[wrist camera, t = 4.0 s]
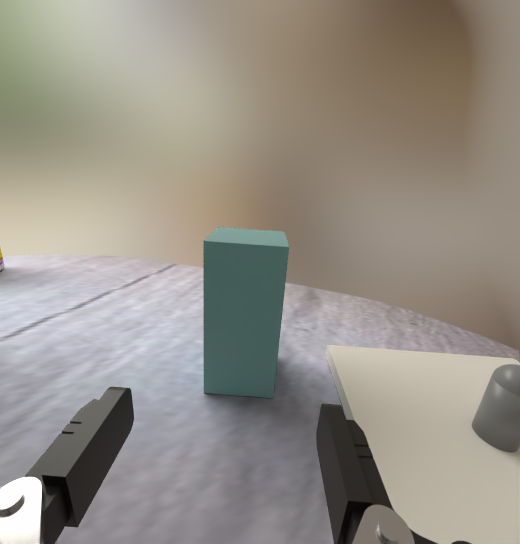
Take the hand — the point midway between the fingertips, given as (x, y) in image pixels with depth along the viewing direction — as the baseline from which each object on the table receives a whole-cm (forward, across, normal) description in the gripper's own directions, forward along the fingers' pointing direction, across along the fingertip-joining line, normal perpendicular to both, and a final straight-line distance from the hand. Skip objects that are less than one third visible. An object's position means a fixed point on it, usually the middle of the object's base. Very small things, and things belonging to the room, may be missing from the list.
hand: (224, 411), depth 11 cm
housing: (+10, 0, +7) cm, 12 cm away
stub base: (+5, -17, +7) cm, 19 cm away
